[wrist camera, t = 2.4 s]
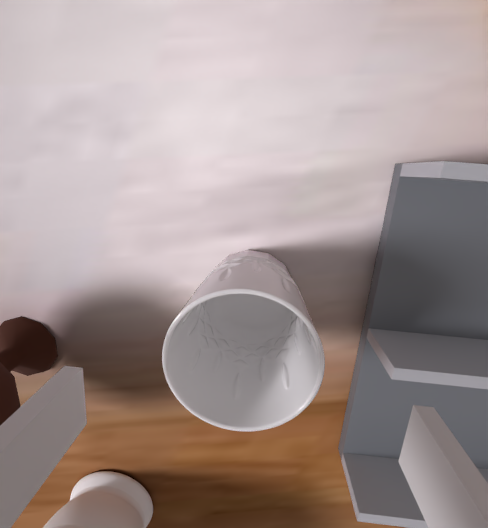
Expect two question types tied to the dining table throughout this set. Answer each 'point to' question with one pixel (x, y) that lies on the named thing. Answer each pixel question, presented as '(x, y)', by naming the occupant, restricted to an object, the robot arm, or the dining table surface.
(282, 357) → the white cup
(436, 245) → the dish rack
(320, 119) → the dining table surface
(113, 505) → the jar
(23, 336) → the ice cream bowl
